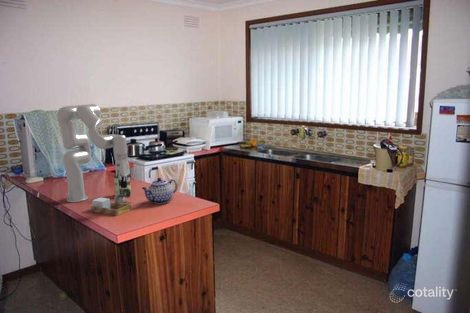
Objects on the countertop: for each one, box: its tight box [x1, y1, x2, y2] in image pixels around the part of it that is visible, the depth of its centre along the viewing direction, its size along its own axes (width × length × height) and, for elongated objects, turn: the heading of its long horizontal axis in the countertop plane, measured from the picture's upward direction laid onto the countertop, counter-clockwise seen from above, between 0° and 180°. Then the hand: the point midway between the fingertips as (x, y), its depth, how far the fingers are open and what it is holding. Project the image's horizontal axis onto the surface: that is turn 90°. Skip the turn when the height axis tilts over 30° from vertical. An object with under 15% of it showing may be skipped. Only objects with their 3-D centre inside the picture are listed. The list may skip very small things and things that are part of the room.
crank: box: [117, 188, 132, 199], centre depth 226 cm, size 10×3×5 cm, turn 65°
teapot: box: [141, 177, 178, 205], centre depth 230 cm, size 25×15×15 cm, turn 132°
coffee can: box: [112, 173, 132, 197], centre depth 246 cm, size 10×10×14 cm
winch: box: [114, 196, 132, 204], centre depth 229 cm, size 10×8×4 cm
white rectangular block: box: [91, 197, 112, 209], centre depth 219 cm, size 8×6×6 cm
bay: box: [89, 201, 132, 217], centre depth 217 cm, size 20×11×3 cm, turn 64°
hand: (124, 187), depth 218 cm, fingers closed
